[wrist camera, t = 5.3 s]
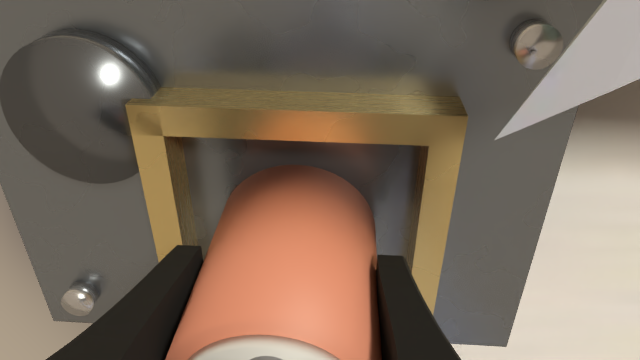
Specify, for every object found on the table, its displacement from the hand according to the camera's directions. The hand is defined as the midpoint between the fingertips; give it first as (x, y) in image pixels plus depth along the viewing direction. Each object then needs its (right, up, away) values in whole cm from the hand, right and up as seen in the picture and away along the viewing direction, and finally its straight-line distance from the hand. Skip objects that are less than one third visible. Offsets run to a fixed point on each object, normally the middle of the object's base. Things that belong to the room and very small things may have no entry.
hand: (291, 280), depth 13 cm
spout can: (0, +1, +2) cm, 2 cm away
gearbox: (-1, +4, +4) cm, 6 cm away
